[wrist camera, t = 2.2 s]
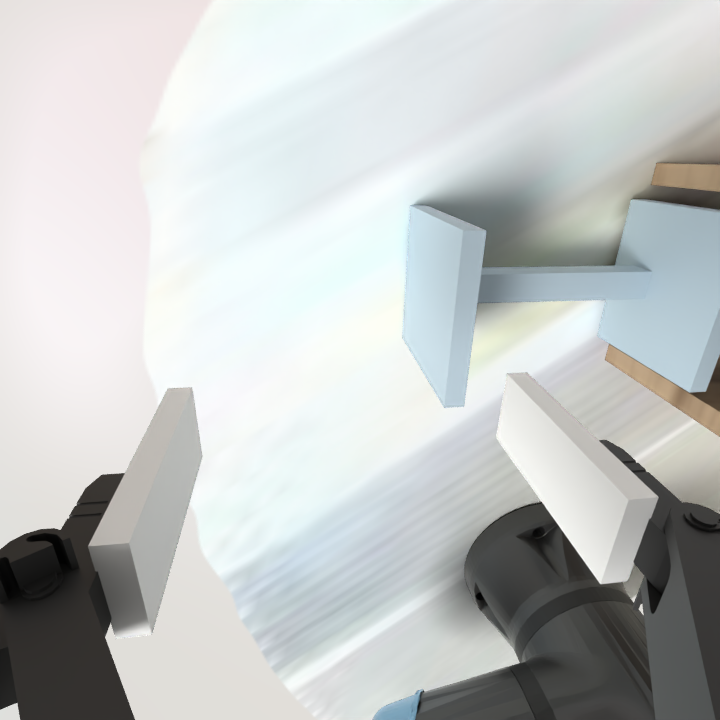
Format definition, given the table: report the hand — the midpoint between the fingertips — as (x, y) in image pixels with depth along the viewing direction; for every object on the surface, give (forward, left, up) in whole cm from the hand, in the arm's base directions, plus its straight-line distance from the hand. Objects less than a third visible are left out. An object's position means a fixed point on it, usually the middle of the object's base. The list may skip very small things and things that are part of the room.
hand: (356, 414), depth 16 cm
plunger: (+8, -13, -19) cm, 25 cm away
